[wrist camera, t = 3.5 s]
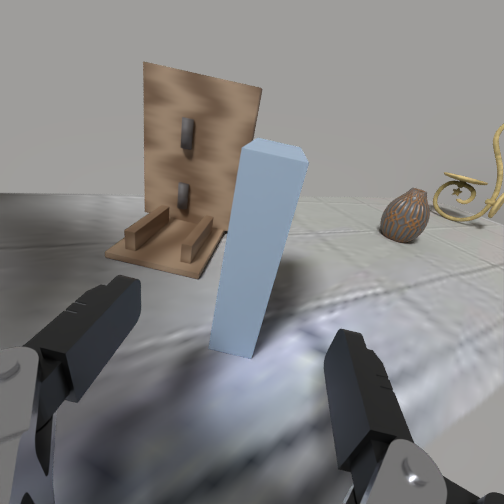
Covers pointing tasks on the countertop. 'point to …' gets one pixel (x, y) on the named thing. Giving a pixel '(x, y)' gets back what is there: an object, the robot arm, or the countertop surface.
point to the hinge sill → (188, 167)
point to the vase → (406, 216)
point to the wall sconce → (462, 183)
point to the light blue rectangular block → (255, 241)
